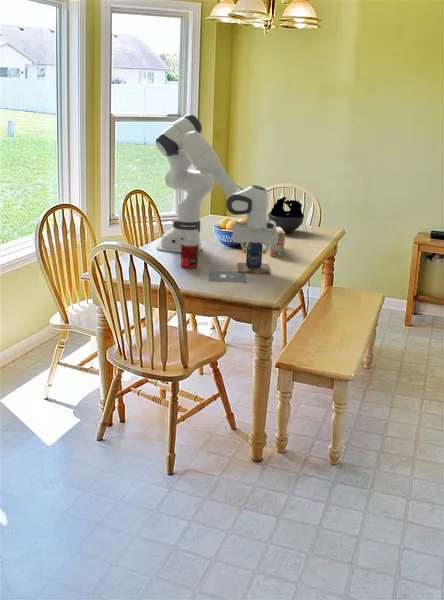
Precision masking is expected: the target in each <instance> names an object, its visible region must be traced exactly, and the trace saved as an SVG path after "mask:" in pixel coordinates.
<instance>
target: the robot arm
mask: <svg viewBox="0 0 444 600" xmlns="http://www.w3.org/2000/svg"><path fill="white" fill-rule="evenodd" d="M202 128H203V127H202V123H201V122H200V120H199V119H198V118H197V116H195V114H192V113H187V114H185V115H182V117H180V118H178V119H177V120H176V121H174V122H173V123H171V124H170V126H168V127H167V128H166V129H165V130H164V131H163V132H162V133H160V134H159V135H158V136H157V137H156V139H155V145H156V148H157V149H158V151H159V152H160V154H161V155H163V156H165V157H166V159H167V161H168V163H169V167H170V168H169V169H168V170H167V172H166V174H165V176H164V179H165V184H166V186H167V187H168V188H169V189H171V190H175V191H179V192H185V193H187V194H186V197H185V198H184V199H182V200H181V201H179V202H178V204H177V206H176V207H177V208H176V209H177V211H176V212H177V213H176V214H177V215H176V218H173V219H172V222H171V223H172V227H171V228H170V229H168V230H167V231H165V232H164V233H163V234H162V236H161V239H160V242H158V243H157V244H156V247H155V248H156V250H158V251H162V252H174V253H181V243H182V242H183V241H194V242H197V243H199V251H201V250H202V249H203V247H202V243H201V233H200V232H201V226H202V225H201V220H200V218H201V217H200V216H201V208H202V207H201V206H202V203H203V201H204V199H205V197H207V195H208V194H210V193H211V192H212V191H213V189H214V188H215V182H216V184H217V185H218V186H219V187H220V189H221V190H222V191H223V193H224V194H225V195H226V203H225V204H226V205H225V206H226V209H227V211H228V212H229V213H231V214H232V215H235V216H240V215H246V221H236V222H234V223H233V224H232V231H233V233H232V242H233V243H235V244H240V246H241V248H242V253H243V254H247V247H246V248H245V247H244V245H245V244H248V243H250V242H251V243H261V244H262V245H264V244H266V248H265V247H264V248H262V255H266V254H267V249H268V248H269V244H273V245H276V244H277V243H278V233H277V230H276V223H275V222H274V221H272V220H269V218H268V213H267V210H268V207H269V206H268V204H269V195H268V190H267V189H266V188H265V187H263V186H261V185H255V184H252V185H250V186H249V187H247V188H245V189H244V188H242V187H240V186H239V185H237V184H236V182H235V181H234V180H233V178H232V177H231V176H230V175H229V173H228V172H227V171H226V170H225V168H224V166H223V164H222V161H221V159H220V158H219V156H218V154H217V153H216V151H215V149H214V148H213V147H212V146H211V144H210V143H209V142H208V140H207V139H206V138H205V137H204V136H203V135H202V134H201V132H203V131H202V130H203V129H202ZM191 165H192V166H193V167H194V168H195V169H192V168H190V167H191Z"/></svg>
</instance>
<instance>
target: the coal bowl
mask: <svg viewBox="0 0 444 600" xmlns="http://www.w3.org/2000/svg"><path fill="white" fill-rule="evenodd" d="M284 204H285V205H286V206H288V208H289V210H285V208H284ZM302 207H303V205H302V203H301V202H299V200H296V199H295V200H294V199H290V200H288V199H287V197H286V196H283V197H282V198H279V199H277V200H276V203H274V204H273V207H272V209H271V211H269V212H268V213H267V219H269V220H272V221H274V222H275V223H276V227H281V228H282V229H283V230H284V232H285V234H287V233H293V232H294V231H296V230H297V229H299V228H300V227H301V226H302V223H303V222H304V219H305V215H304V213H303V212H302Z"/></svg>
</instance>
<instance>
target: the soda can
mask: <svg viewBox="0 0 444 600" xmlns="http://www.w3.org/2000/svg"><path fill="white" fill-rule="evenodd" d="M246 244H247V245H246V259H245V263H246V266H247V267H248V268H250V269H259V268H260V267H261V263H262V261H263V260H262V259H263V249H264V248H263V247H264V244H261V243H251V242H250V243H246Z"/></svg>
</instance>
